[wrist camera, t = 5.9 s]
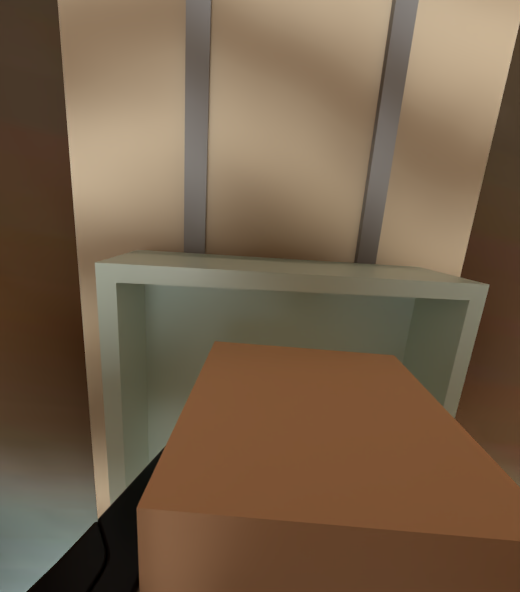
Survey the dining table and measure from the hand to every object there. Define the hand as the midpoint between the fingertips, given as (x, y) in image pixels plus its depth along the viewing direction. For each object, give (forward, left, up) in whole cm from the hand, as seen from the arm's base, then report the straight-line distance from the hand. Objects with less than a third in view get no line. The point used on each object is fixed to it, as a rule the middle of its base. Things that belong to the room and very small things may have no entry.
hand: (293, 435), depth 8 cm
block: (0, 0, 0) cm, 0 cm away
